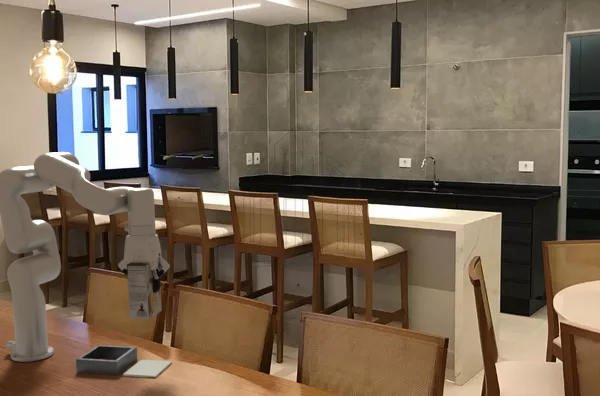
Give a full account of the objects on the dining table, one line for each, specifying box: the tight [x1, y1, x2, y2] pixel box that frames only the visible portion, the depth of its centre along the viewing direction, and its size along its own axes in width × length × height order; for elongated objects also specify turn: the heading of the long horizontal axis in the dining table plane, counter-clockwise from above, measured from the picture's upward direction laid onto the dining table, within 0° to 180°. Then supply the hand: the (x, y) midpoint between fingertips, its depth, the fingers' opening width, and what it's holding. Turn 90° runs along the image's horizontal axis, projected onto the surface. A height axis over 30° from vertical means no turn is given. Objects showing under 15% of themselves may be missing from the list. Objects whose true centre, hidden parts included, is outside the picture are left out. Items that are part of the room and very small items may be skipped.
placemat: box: [122, 359, 173, 379], centre depth 195 cm, size 10×12×1 cm
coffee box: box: [126, 263, 163, 320], centre depth 192 cm, size 9×6×16 cm
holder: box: [75, 344, 138, 376], centre depth 198 cm, size 13×13×4 cm
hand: (144, 290), depth 192 cm, fingers closed on coffee box, 6 cm apart
